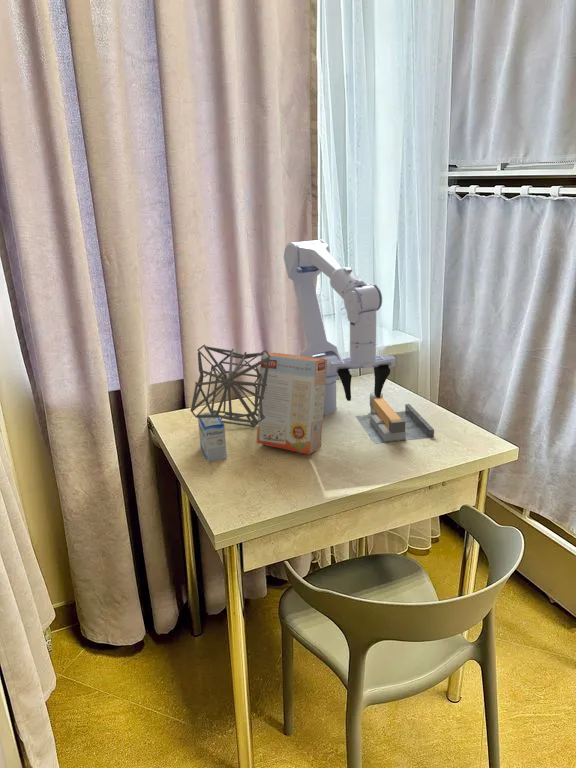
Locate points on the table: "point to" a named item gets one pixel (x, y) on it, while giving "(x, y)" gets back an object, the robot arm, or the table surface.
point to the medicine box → (212, 438)
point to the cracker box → (292, 402)
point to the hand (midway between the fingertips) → (362, 397)
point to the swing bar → (387, 414)
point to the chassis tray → (413, 425)
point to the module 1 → (376, 421)
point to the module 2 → (390, 434)
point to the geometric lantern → (228, 384)
